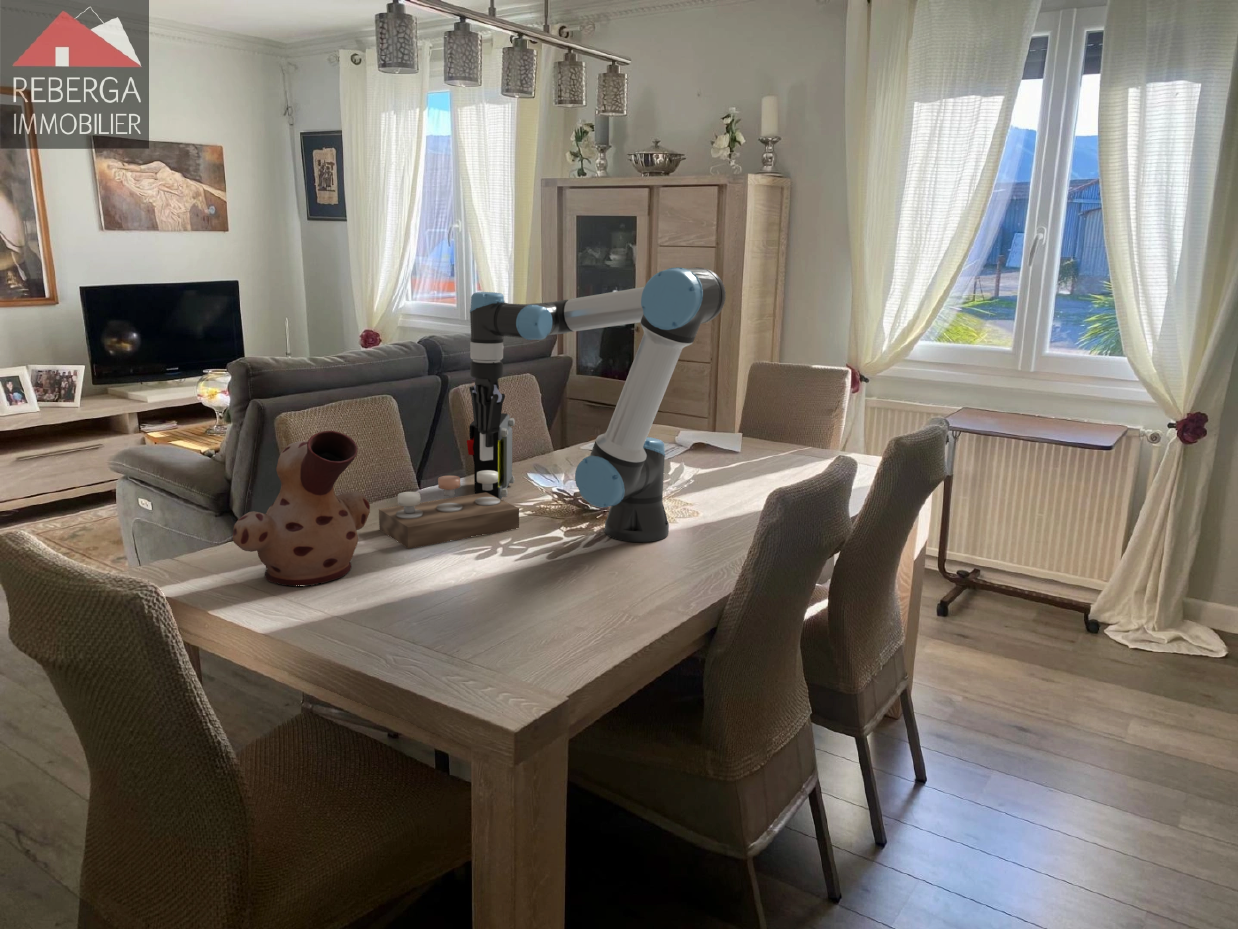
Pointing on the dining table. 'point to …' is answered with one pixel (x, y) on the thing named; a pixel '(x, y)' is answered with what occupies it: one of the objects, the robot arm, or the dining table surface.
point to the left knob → (409, 501)
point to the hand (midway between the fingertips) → (486, 459)
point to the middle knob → (449, 484)
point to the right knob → (487, 479)
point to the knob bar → (448, 519)
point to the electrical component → (494, 457)
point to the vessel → (307, 515)
